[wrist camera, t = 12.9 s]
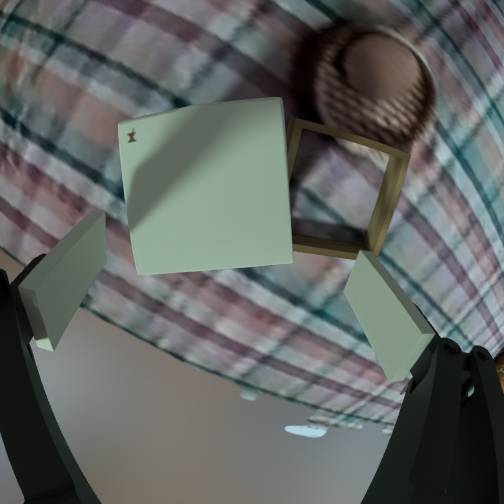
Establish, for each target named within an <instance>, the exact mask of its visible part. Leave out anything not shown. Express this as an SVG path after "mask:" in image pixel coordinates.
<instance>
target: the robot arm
mask: <svg viewBox="0 0 504 504" xmlns="http://www.w3.org/2000/svg"><path fill="white" fill-rule="evenodd" d="M106 262H107V256H106V228H105V212H97V211H91V212H90V213H89V214H88V215H87V216H86V217H85V218H84V219H83V220H81V221H80V222H79V223H78V224H77V225H76V226H75V227H74V228H73V229H72V230H71V231H70V232H69V233H68V234H67V235H66V236H65V237H64V238H63V239H62V240H61V241H60V242H59V243H58V244H57V245H56V246H55V247H54V248H53V249H52V250H51V251H50V252H49V253H48V254H44V253H43V254H41V255H39V256H38V257H36V258H34V259H33V260H32V261H31V262H30V263H29V264H28V265H27V267H25V268H24V270H23V271H22V272H21V273H20V274H19V275H18V276H17V277H16V278H15V280H14V281H13V282H12V283H11V284H9V281H8V277H7V274H6V271H4V270H3V269H0V433H1V436H2V440H3V443H4V446H5V449H6V452H7V455H8V458H9V461H10V463H11V466H12V469H13V471H14V474H15V476H16V479H17V481H18V484H19V486H20V488H21V490H22V493H23V495H24V499H25V502H24V504H102V503H101V502H100V500H99V499H98V497H97V496H96V494H95V493H94V491H93V490H92V488H91V486H90V485H89V483H88V481H87V480H86V478H85V476H84V475H83V473H82V471H81V469H80V468H79V466H78V464H77V462H76V460H75V459H74V456H73V455H72V453H71V451H70V449H69V447H68V445H67V443H66V441H65V438H64V436H63V434H62V432H61V430H60V428H59V425H58V423H57V421H56V418H55V416H54V414H53V411H52V409H51V406H50V404H49V401H48V399H47V396H46V393H45V390H44V387H43V384H42V382H41V379H40V375H39V373H38V369H37V366H36V363H35V359H34V356H33V352H32V349H31V346H30V344H29V342H30V341H31V339H32V337H33V336H34V338H35V341H36V344H37V346H38V347H40V348H43V349H46V350H50V351H53V352H54V350H55V348H56V346H57V344H58V342H59V341H60V339H61V337H62V335H63V333H64V331H65V329H66V328H67V326H68V324H69V322H70V321H71V319H72V317H73V315H74V314H75V312H76V310H77V308H78V307H79V305H80V303H81V302H82V300H83V298H84V297H85V295H86V293H87V292H88V290H89V288H90V287H91V285H92V284H93V282H94V280H95V279H96V277H97V276H98V274H99V273H100V271H101V269H102V268H103V266H104V265H105V263H106ZM343 293H344V295H345V297H346V298H347V300H348V302H349V304H350V306H351V308H352V310H353V311H354V313H355V315H356V317H357V319H358V321H359V323H360V325H361V327H362V329H363V331H364V332H365V334H366V336H367V338H368V340H369V342H370V344H371V346H372V348H373V350H374V352H375V354H376V356H377V358H378V360H379V362H380V364H381V366H382V368H383V370H384V373H385V375H386V377H387V379H388V381H389V382H396V381H403V379H404V378H405V377H406V375H407V374H408V373H409V371H410V372H411V374H412V376H413V377H412V379H411V380H410V381H409V382H408V384H407V385H406V386H405V387H404V389H403V390H402V391H401V393H400V394H401V395H402V394H403V393H404V392H405V391H406V393H405V397H404V400H403V403H402V406H401V409H400V412H399V415H398V418H397V421H396V424H395V427H394V430H393V432H392V435H391V438H390V440H389V443H388V445H387V448H386V451H385V453H384V455H383V458H382V460H381V462H380V465H379V467H378V469H377V471H376V474H375V476H374V478H373V480H372V482H371V484H370V486H369V488H368V490H367V492H366V494H365V497H364V498H363V500H362V502H361V504H504V392H503V389H502V385H501V382H500V379H499V376H498V373H497V370H496V367H495V364H494V361H493V358H492V356H491V354H490V353H489V352H488V350H487V349H486V348H484V347H481V346H478V345H476V346H474V347H473V348H472V350H471V351H470V353H465V352H462V350H461V348H460V346H459V345H458V344H457V343H456V342H454V341H453V340H451V339H449V338H444V337H443V338H441V337H440V336H439V334H438V333H437V332H436V330H435V329H434V327H433V326H432V325H431V323H430V322H429V321H427V318H426V317H425V315H423V313H422V311H421V310H420V309H419V307H418V306H417V305H415V304H414V303H413V302H412V301H411V300H410V298H409V297H408V296H407V295H406V293H405V292H404V291H403V290H402V288H401V287H400V286H399V284H398V283H397V282H396V281H395V279H394V278H393V277H392V276H391V275H390V273H389V272H388V271H387V270H386V268H385V267H384V266H383V265H382V264H381V262H380V261H379V260H378V259H377V258H376V256H375V255H374V254H373V253H372V252H370V251H364V250H360V251H359V254H358V256H357V259H356V261H355V264H354V267H353V269H352V272H351V274H350V277H349V279H348V282H347V284H346V286H345V289H344V291H343ZM473 386H474V393H473V394H472V395H471V396H470V397H468V392H469V391H470V390H471V389H472V387H473ZM445 492H446V493H445Z"/></svg>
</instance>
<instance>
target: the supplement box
mask: <svg viewBox="0 0 504 504" xmlns="http://www.w3.org/2000/svg"><path fill="white" fill-rule="evenodd" d="M118 133H119V147H120V158H121V168H122V177H123V186H124V194H125V201H126V208H127V216H128V223H129V230H130V237H131V244H132V249H133V255H134V260H135V264H136V269H137V274H138V275H149V274H163V273H176V272H190V271H203V270H216V269H229V268H242V267H253V266H265V265H275V264H285V263H293V262H294V260H293V249H292V232H291V213H290V196H289V178H288V162H287V145H286V131H285V119H284V108H283V100H282V98H280V97H270V98H256V99H245V100H235V101H226V102H218V103H210V104H197V105H191V106H187V107H184V108H179V109H174V110H169V111H164V112H159V113H154V114H150V115H145V116H140V117H136V118H132V119H129V120H125V121H121V122H119V123H118Z"/></svg>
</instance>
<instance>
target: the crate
mask: <svg viewBox="0 0 504 504" xmlns="http://www.w3.org/2000/svg"><path fill="white" fill-rule="evenodd" d="M302 128H304V129H308V130H312V131H316V132H320V133H323V134H327V135H331V136H334V137H338V138H341V139H344V140H348V141H351V142H354V143H358V144H361V145H364V146H367V147H370V148H373V149H376V150H379V151H382V152H385V153H388V154H390V157H389V161H388V165H387V168H386V172H385V176H384V179H383V182H382V186H381V189H380V192H379V196H378V199H377V202H376V205H375V208H374V212H373V215H372V218H371V221H370V224H369V227H368V230H367V232H366V235H365V238H364V241H363V244H362V245H358V244H352V243H346V242H340V241H334V240H328V239H322V238H316V237H310V236H304V235H298V234H292V249H293V251H297V252H304V253H311V254H317V255H324V256H331V257H338V258H345V259H352V260H356V259H357V256H358V254H359V251H360V250H364V251H370V252H372V253H373V254H374V255H375V256H376V258H377V256H378V254H379V251H380V249H381V246H382V243H383V241H384V238H385V235H386V232H387V230H388V227H389V224H390V221H391V218H392V215H393V212H394V209H395V206H396V203H397V200H398V197H399V194H400V190H401V187H402V184H403V181H404V177H405V174H406V170H407V167H408V163H409V159H410V156H411V155H410V154H408V153H405V152H403V151H400V150H398V149H395V148H392V147H390V146H387V145H384V144H381V143H379V142H376V141H373V140H370V139H367V138H364V137H361V136H358V135H355V134H352V133H348V132H345V131H342V130H338V129H335V128H332V127H328V126H325V125H321V124H317V123H313V122H310V121H306V120H302V119H298V118H289V122H288V127H287V131H286V145H287V162H288V178H289V184H290V179H291V175H292V171H293V167H294V162H295V158H296V154H297V149H298V145H299V141H300V136H301V132H302Z"/></svg>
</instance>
